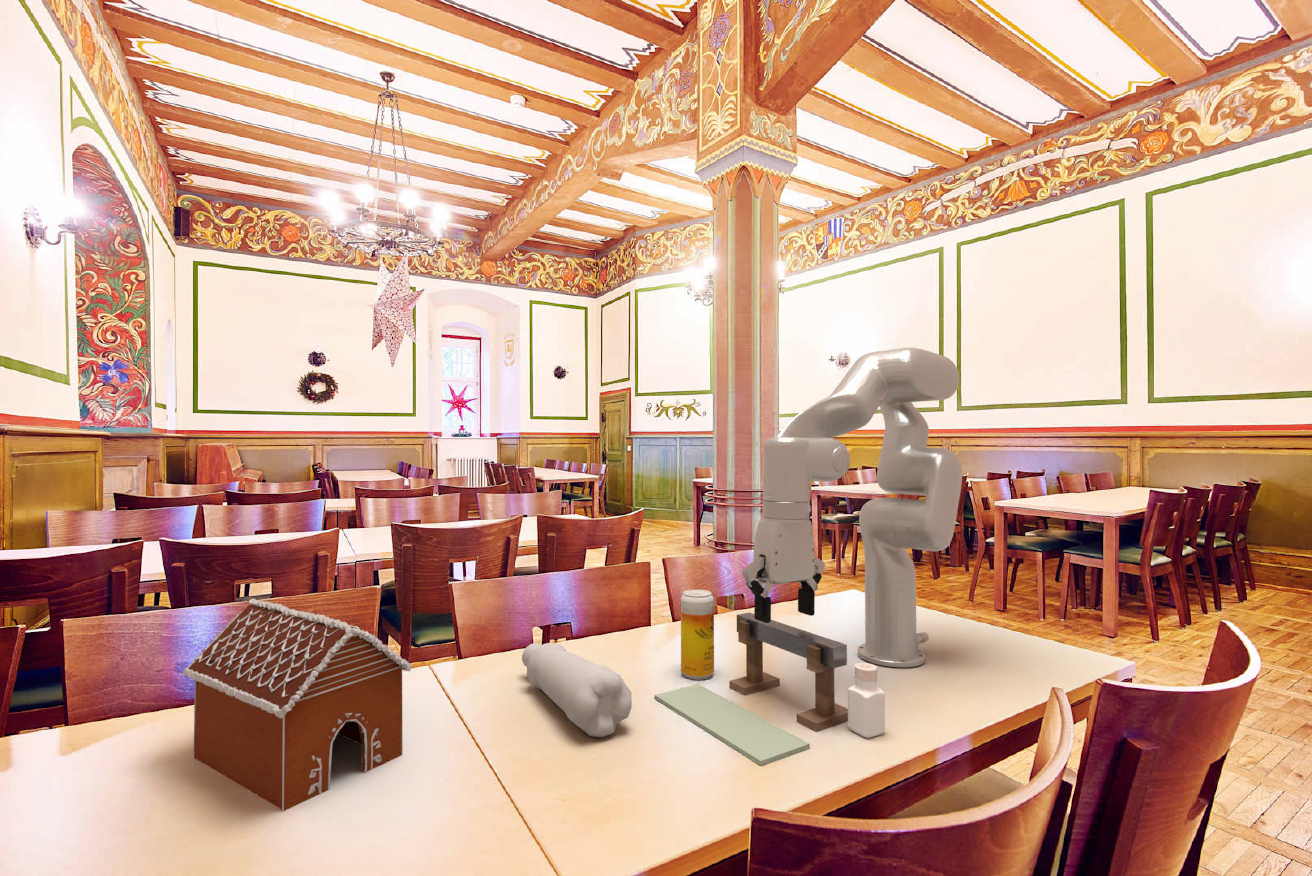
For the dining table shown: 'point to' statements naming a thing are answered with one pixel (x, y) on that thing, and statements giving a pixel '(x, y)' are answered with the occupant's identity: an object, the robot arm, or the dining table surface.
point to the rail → (796, 640)
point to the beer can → (697, 634)
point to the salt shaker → (866, 702)
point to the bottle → (579, 687)
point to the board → (733, 724)
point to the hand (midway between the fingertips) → (784, 617)
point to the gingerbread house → (293, 700)
